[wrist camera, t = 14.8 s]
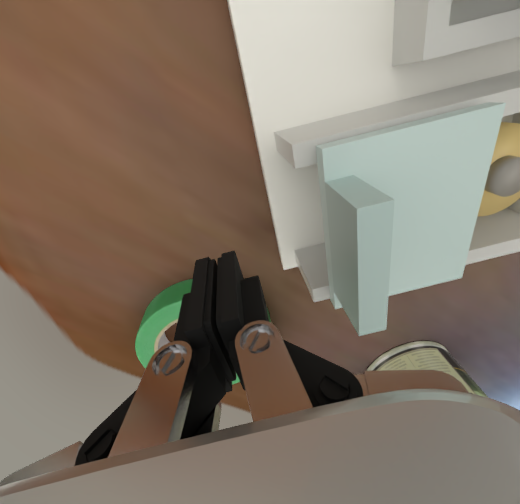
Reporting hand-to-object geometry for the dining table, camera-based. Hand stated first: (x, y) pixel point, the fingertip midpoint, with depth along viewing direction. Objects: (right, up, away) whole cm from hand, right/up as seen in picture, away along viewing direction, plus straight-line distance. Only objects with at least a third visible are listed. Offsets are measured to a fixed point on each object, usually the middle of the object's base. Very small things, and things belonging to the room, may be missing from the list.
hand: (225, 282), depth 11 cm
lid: (+8, +3, +1) cm, 9 cm away
